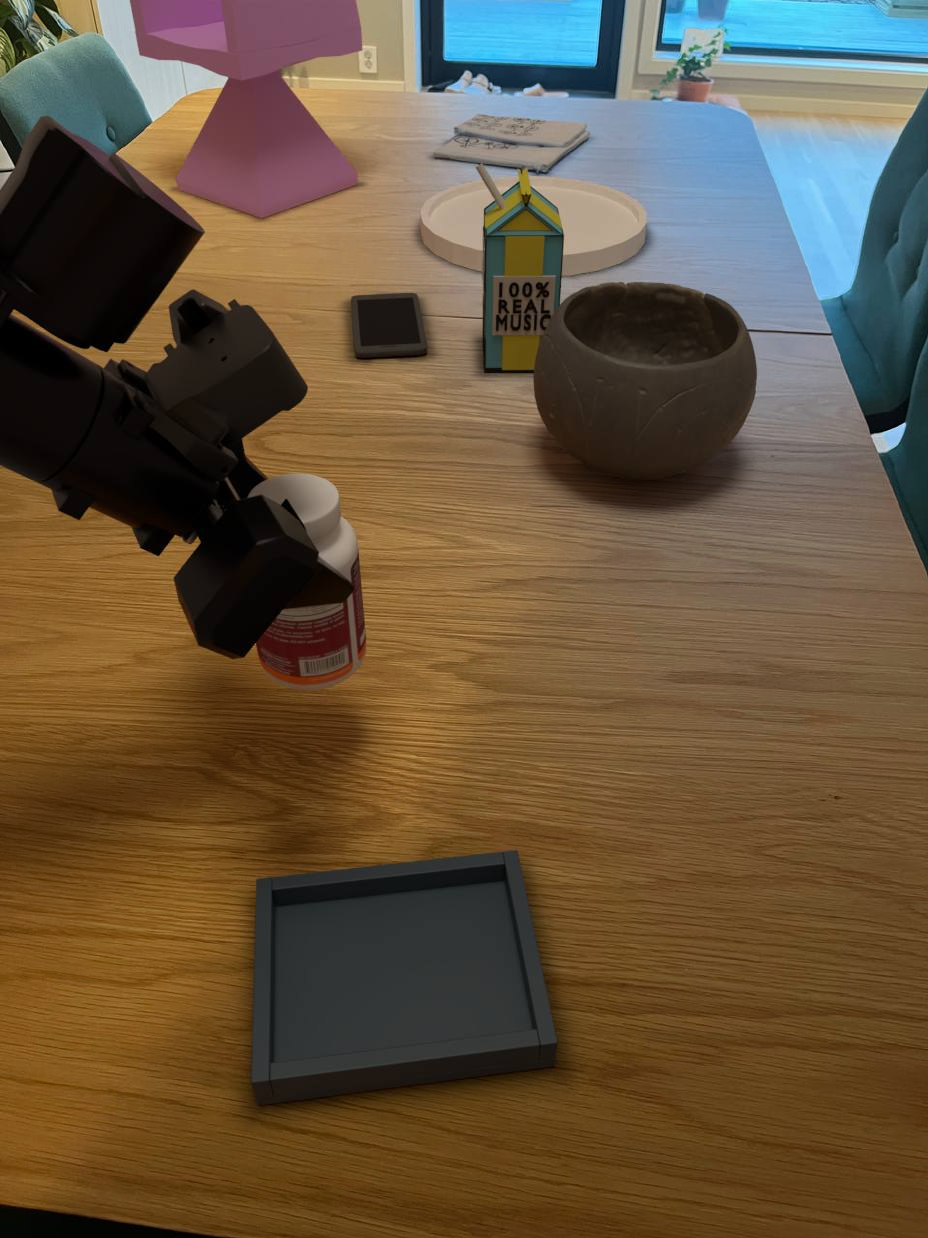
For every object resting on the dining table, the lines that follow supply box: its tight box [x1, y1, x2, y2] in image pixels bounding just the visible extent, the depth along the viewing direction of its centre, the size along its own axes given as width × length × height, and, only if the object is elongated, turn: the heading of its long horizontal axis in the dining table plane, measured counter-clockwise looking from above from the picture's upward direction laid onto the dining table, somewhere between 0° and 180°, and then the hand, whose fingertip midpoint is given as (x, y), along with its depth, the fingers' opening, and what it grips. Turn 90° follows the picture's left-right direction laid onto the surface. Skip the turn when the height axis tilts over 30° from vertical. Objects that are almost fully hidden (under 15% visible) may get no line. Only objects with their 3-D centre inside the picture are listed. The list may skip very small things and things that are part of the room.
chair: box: [129, 0, 363, 219], centre depth 131 cm, size 20×20×30 cm
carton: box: [475, 163, 564, 374], centre depth 96 cm, size 7×8×18 cm
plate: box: [419, 175, 648, 277], centre depth 126 cm, size 28×28×2 cm
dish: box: [250, 849, 558, 1106], centre depth 50 cm, size 14×11×2 cm
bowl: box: [533, 281, 758, 481], centre depth 83 cm, size 18×18×13 cm
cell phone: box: [350, 292, 428, 359], centre depth 106 cm, size 7×14×1 cm, turn 6°
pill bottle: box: [248, 473, 367, 691], centre depth 55 cm, size 6×6×11 cm
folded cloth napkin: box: [433, 113, 591, 174], centre depth 153 cm, size 19×20×2 cm
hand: (326, 560), depth 55 cm, fingers closed on pill bottle, 6 cm apart
